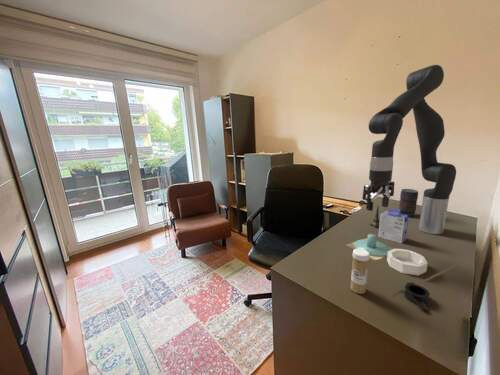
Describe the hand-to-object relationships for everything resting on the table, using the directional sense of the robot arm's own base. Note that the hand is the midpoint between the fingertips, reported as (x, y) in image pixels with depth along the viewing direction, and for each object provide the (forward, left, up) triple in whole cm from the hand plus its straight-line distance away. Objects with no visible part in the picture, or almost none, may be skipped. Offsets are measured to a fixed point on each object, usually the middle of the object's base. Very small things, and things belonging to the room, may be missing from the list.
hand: (377, 208), depth 86 cm
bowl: (0, +13, -19) cm, 23 cm away
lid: (0, -1, -18) cm, 18 cm away
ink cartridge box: (-16, -3, -19) cm, 25 cm away
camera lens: (-51, -18, -19) cm, 57 cm away
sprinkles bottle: (+25, +14, -19) cm, 34 cm away
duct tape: (+13, +24, -19) cm, 33 cm away
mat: (0, -1, -19) cm, 19 cm away
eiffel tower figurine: (-21, -15, -20) cm, 32 cm away
